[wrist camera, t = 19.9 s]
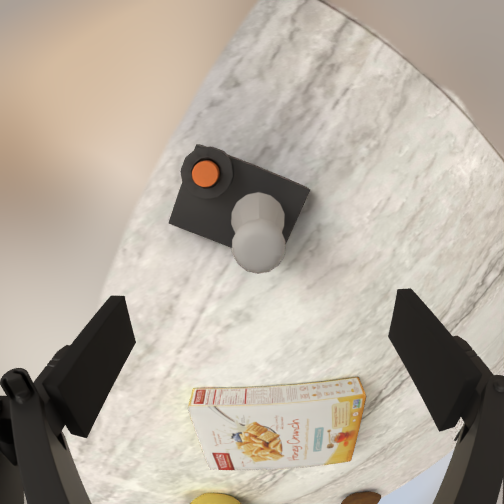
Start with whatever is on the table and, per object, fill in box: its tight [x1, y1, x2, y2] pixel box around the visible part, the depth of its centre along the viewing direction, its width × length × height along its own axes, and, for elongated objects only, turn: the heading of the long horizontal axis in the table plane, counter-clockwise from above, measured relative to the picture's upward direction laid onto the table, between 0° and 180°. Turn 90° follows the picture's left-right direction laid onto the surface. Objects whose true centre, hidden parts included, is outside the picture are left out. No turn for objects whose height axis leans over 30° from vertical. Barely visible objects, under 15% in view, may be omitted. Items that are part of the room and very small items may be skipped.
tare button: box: [192, 160, 220, 187], centre depth 33 cm, size 3×3×2 cm
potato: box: [341, 492, 381, 504], centre depth 60 cm, size 7×12×7 cm, turn 99°
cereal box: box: [188, 377, 366, 470], centre depth 48 cm, size 20×6×28 cm
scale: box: [169, 144, 310, 248], centre depth 36 cm, size 14×10×4 cm
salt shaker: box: [231, 192, 285, 273], centre depth 30 cm, size 6×6×13 cm
